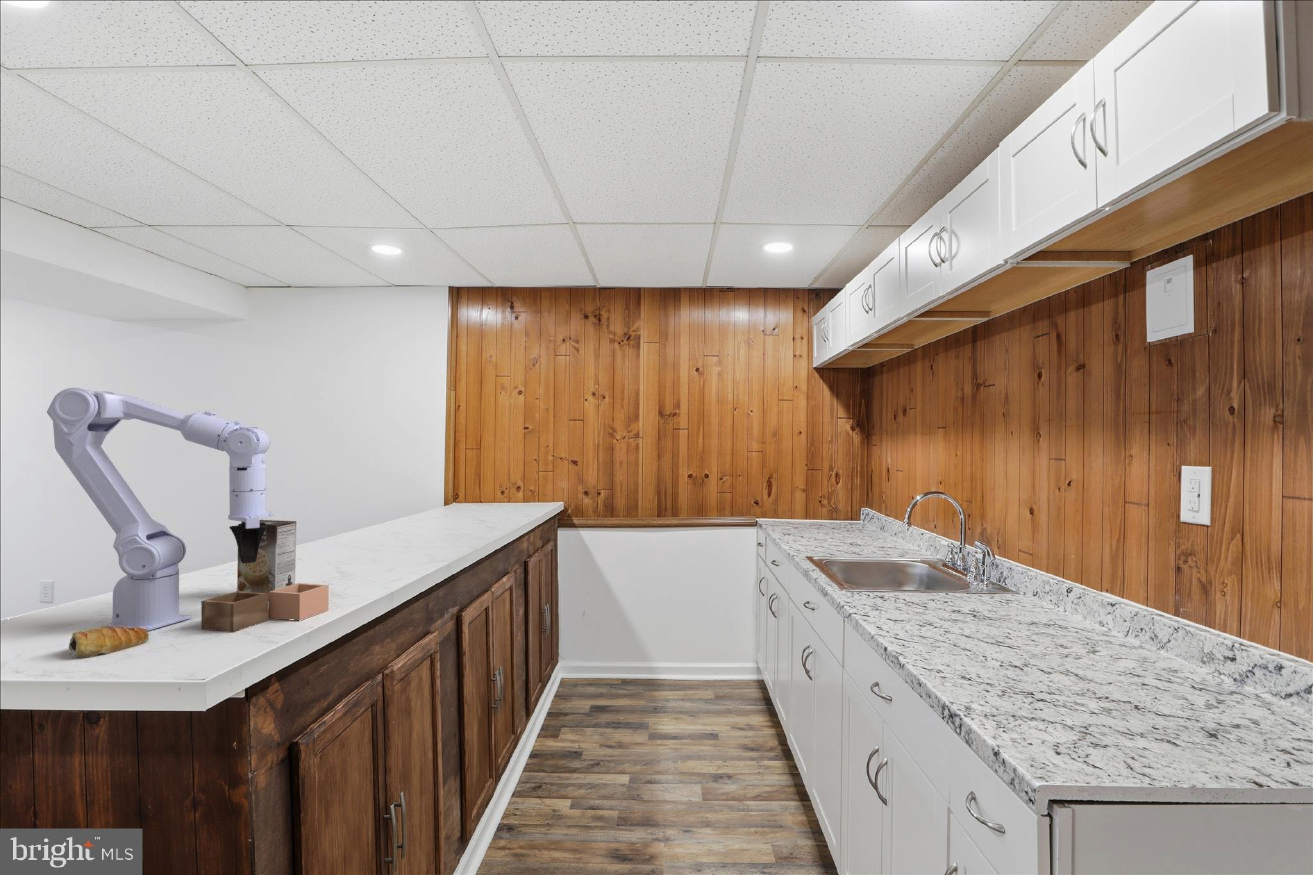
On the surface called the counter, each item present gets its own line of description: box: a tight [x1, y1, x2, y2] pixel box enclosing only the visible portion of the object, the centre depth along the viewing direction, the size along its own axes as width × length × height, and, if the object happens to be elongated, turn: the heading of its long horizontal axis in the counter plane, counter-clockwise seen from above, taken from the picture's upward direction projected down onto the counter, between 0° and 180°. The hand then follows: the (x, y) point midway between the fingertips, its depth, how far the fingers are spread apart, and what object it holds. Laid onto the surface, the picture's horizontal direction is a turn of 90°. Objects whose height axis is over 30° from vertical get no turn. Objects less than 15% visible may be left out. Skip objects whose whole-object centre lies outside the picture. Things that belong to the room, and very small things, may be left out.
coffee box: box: [236, 519, 297, 600], centre depth 126 cm, size 9×6×16 cm
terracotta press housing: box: [268, 582, 330, 621], centre depth 113 cm, size 7×7×5 cm
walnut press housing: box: [200, 590, 269, 633], centre depth 107 cm, size 7×7×5 cm
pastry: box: [68, 625, 150, 659], centre depth 95 cm, size 9×7×4 cm
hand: (248, 562), depth 111 cm, fingers closed
